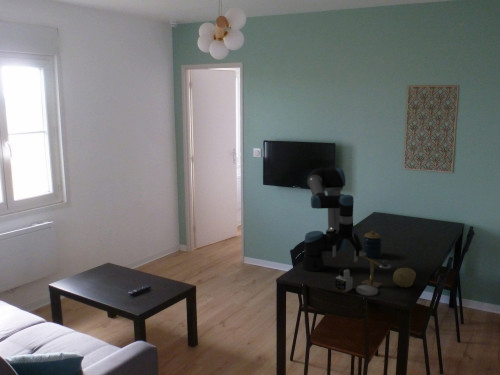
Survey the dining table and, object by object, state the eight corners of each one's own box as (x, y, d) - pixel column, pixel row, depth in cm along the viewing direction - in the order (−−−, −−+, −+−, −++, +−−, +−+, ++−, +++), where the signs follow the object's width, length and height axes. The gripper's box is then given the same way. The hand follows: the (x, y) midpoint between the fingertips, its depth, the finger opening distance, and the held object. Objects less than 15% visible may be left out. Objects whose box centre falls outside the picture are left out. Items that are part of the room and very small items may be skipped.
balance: (351, 282, 278) (352, 253, 275) (356, 278, 284) (357, 250, 280) (387, 291, 264) (388, 261, 261) (392, 287, 270) (393, 258, 266)
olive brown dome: (406, 291, 265) (407, 273, 263) (388, 284, 274) (389, 267, 272) (418, 286, 271) (419, 268, 269) (400, 279, 281) (401, 262, 279)
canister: (382, 258, 317) (383, 234, 313) (362, 258, 319) (363, 233, 315) (380, 252, 329) (381, 228, 326) (361, 251, 331) (362, 227, 328)
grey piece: (334, 289, 269) (335, 269, 266) (342, 285, 274) (342, 266, 271) (345, 292, 264) (346, 272, 261) (352, 288, 269) (353, 269, 266)
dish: (352, 292, 264) (352, 290, 264) (361, 285, 273) (362, 283, 273) (372, 297, 257) (372, 295, 257) (381, 290, 266) (381, 288, 266)
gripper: (323, 220, 266) (322, 256, 270) (363, 227, 250) (362, 265, 254) (329, 217, 272) (328, 252, 276) (369, 224, 256) (368, 261, 260)
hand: (344, 258), depth 265 cm, fingers open, 13 cm apart
